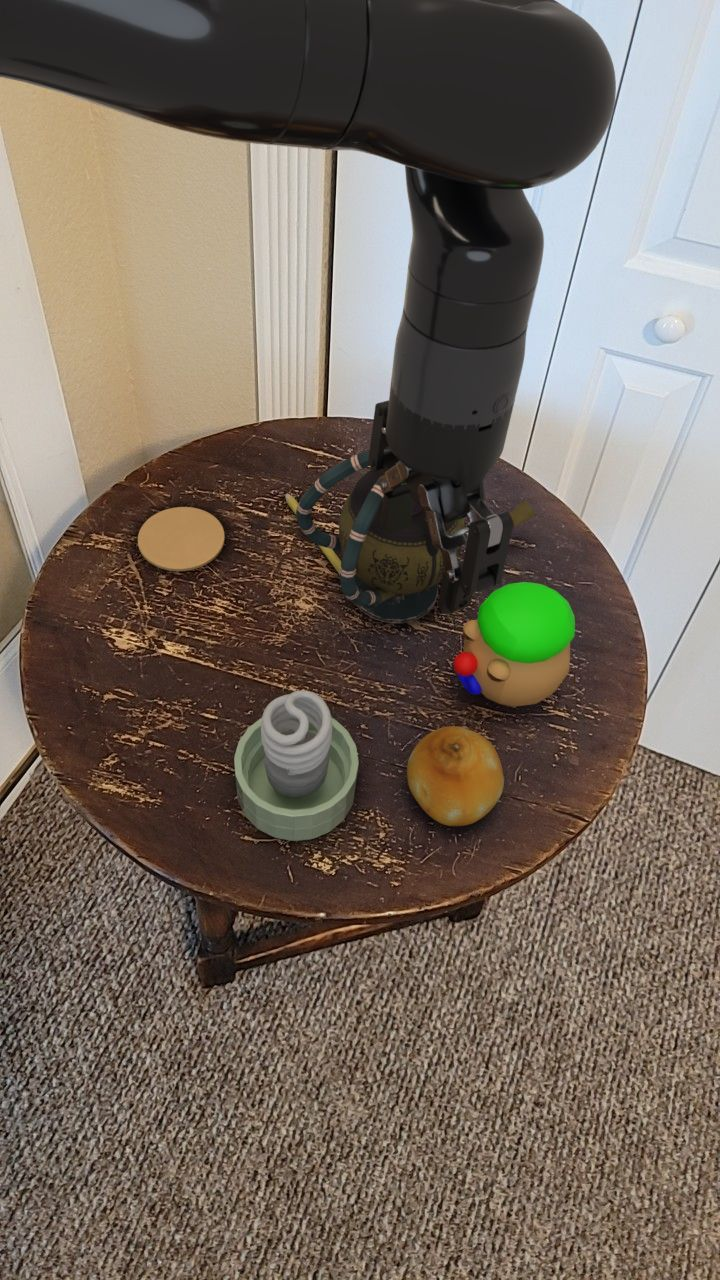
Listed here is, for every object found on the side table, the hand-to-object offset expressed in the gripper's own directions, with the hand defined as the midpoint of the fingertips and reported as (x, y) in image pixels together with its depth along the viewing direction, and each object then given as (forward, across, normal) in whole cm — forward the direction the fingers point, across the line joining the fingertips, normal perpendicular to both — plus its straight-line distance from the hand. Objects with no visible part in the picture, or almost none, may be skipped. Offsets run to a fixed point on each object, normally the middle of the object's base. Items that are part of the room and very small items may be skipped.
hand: (422, 566), depth 68 cm
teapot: (+22, -15, +12) cm, 29 cm away
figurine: (+22, 0, +11) cm, 25 cm away
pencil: (+22, -25, +4) cm, 33 cm away
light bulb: (+22, +2, -11) cm, 24 cm away
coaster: (+22, -30, -9) cm, 38 cm away
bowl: (+22, +2, -11) cm, 24 cm away
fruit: (+22, +8, +1) cm, 23 cm away
